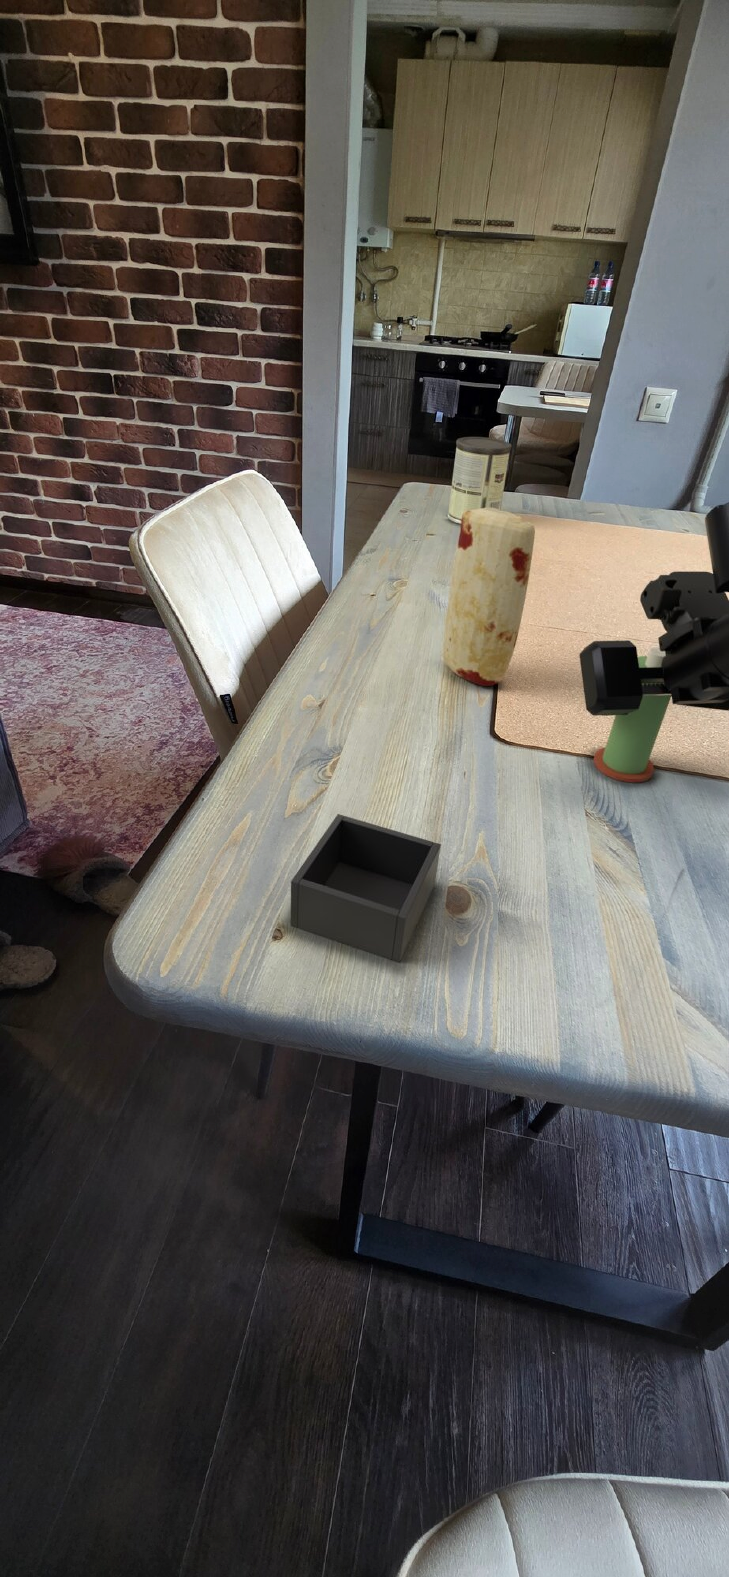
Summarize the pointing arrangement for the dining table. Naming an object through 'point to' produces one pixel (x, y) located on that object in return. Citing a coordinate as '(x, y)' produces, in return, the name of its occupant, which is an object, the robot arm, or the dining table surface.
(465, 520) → the food model
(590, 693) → the robot arm
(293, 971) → the dining table surface
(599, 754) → the mat
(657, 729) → the soap bottle
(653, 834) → the dining table surface
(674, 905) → the dining table surface
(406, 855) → the dark grey open box
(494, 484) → the coffee can
